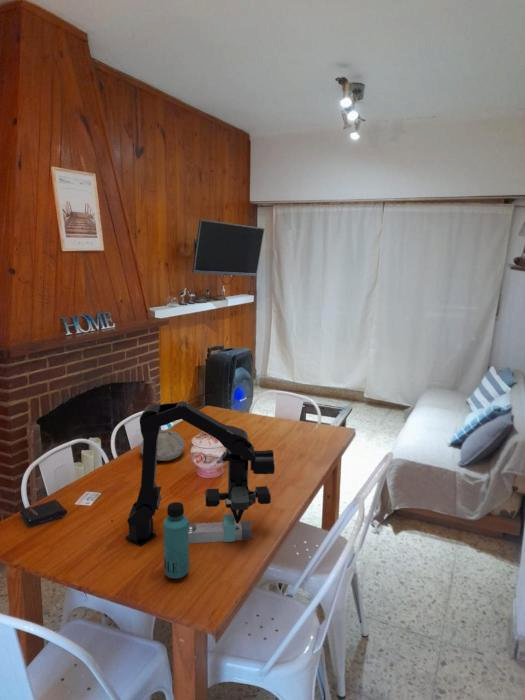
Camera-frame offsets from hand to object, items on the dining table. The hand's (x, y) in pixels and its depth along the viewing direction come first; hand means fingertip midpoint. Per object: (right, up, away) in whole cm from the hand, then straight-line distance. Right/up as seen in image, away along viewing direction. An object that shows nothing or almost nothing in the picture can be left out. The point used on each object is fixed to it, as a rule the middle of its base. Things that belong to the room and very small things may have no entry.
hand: (237, 522), depth 139 cm
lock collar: (-3, -4, 0) cm, 5 cm away
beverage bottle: (-15, -8, -17) cm, 24 cm away
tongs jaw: (-5, -4, +1) cm, 6 cm away
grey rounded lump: (-33, +7, +54) cm, 64 cm away
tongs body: (-6, -4, -1) cm, 7 cm away
